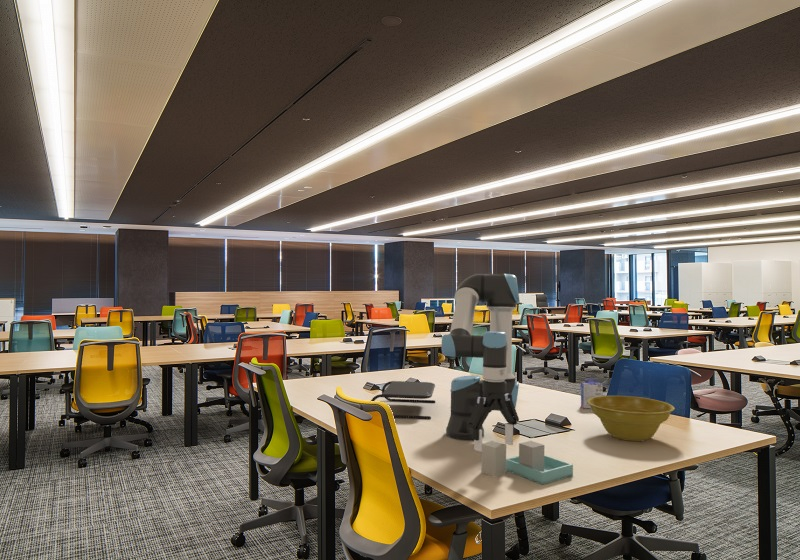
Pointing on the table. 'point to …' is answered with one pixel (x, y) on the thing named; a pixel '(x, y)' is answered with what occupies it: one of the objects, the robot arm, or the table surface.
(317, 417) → the table surface
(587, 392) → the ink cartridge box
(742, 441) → the table surface
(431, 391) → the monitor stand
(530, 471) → the bin
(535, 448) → the stone
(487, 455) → the stone
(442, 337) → the robot arm
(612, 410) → the planter bowl
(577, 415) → the table surface
